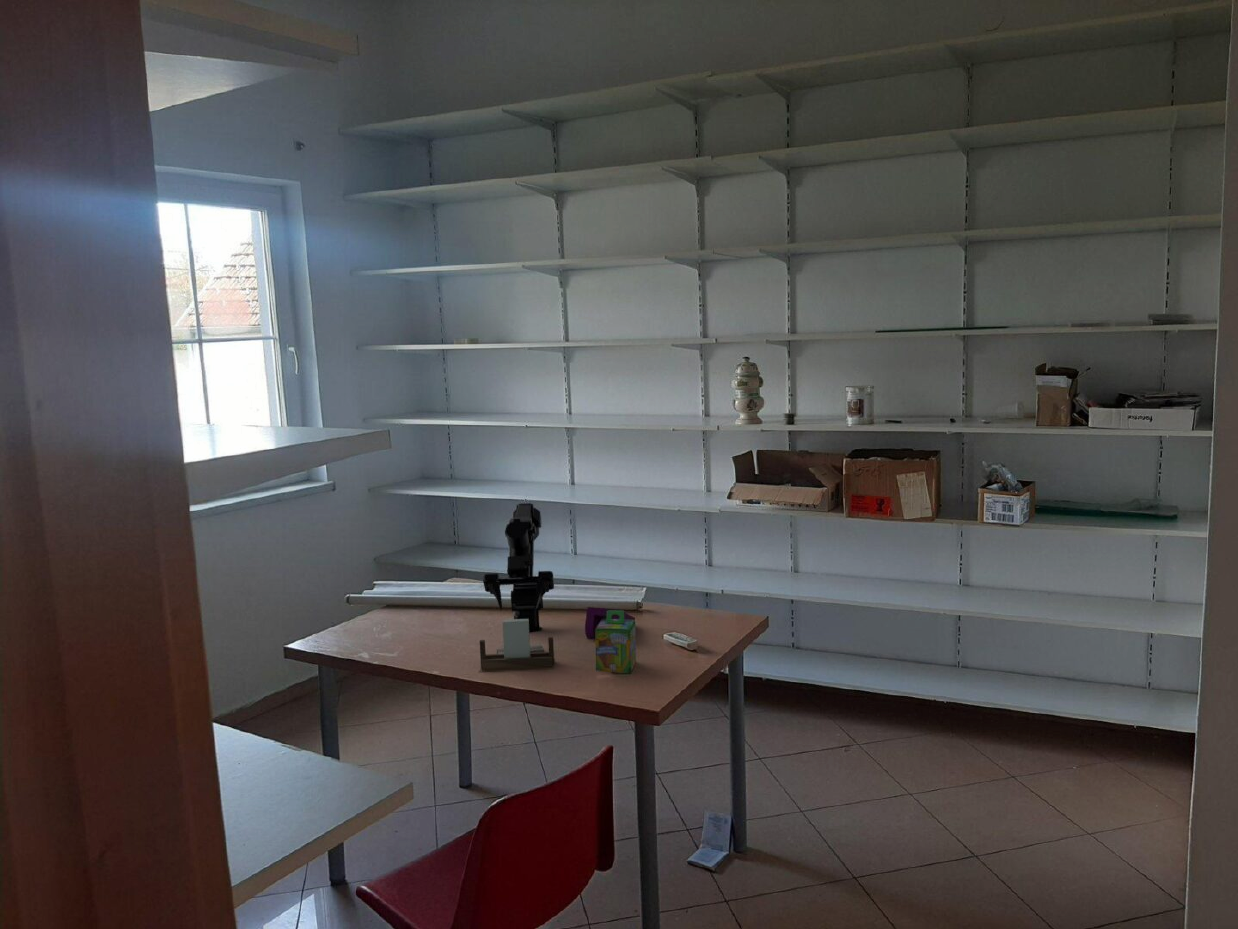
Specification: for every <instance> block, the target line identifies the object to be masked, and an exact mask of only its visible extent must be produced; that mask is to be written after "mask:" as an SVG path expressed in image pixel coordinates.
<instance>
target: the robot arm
mask: <svg viewBox="0 0 1238 929" xmlns="http://www.w3.org/2000/svg"><path fill="white" fill-rule="evenodd" d="M540 528H542V515H541V511H540V509H538V508H536V507H535V506H534V503H531V502H526V503H525V502H524V503H522V502H520V503H518V504H516V509H515V510H514V511H513V512H512V518H510V519H509V520H508V523H507V524H506V526H505V529H504V535H505V537H506V540H507V545H508V547H509V555H508V556H507V567H506V568H507V576H508V577H499V576H500V575H499V573H498V572H487V573H484V575H483V576H482V577H483V578H482V583H483V587H484V592H487V593H489V595H493V596H494V598H495V599H496V601H497V605H498V609H499V610H500V611H502V610H503V603H502V602H503V601H502V591H501V586H507V585H508V586H512V590H510V603H511V604H510V605H511V612H514V615H513V619H529V633H531V632H536V631H540V630H543V628H542V626H540V611H541V610H542V609H544V599H543V597H544V596H545V594H546V593H549V592H550V591H551V590H554V589H555V578H554V572H553V571H551V570H538V572H537V574H538V575H537V576H536V575H535V576H534V561H535V560H534V558H535V557H534V556H535V555H534V553H535V552H534V550H535V549H534V547H535V540H536V539H537V538H538V537H539V536H540Z"/></svg>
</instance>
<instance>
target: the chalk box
mask: <svg viewBox="0 0 1238 929" xmlns="http://www.w3.org/2000/svg"><path fill="white" fill-rule="evenodd" d="M625 613H626V612H625V610H623V609H619V610H608V611H607V613H606V619H602V620H601V621H600V623H599V624H598V626H597V627H596V629H595V639H594V641H595V644H594V645H595V671H606V672H607V671H609V672H611V673H612V674H627V675H628V674H629V675H630V674H631V673H632V671H633V670H634V669H633V668H634V667H635V664H636V661H637V657H636V656H637V654H636V653H637V652H636V650H637V645H636V642H637V641H636V620H635V621H634V620H627V619H625ZM614 614H617V615H619V617H620V618H619V619H612V618H611V616H612V615H614Z"/></svg>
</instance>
